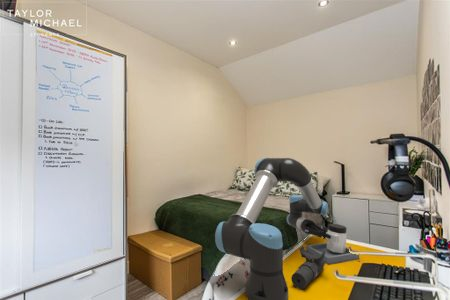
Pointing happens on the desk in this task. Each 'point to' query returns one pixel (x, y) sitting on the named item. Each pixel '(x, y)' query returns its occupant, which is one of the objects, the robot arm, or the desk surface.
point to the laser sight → (308, 268)
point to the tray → (331, 254)
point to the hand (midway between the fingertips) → (337, 238)
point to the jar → (341, 232)
